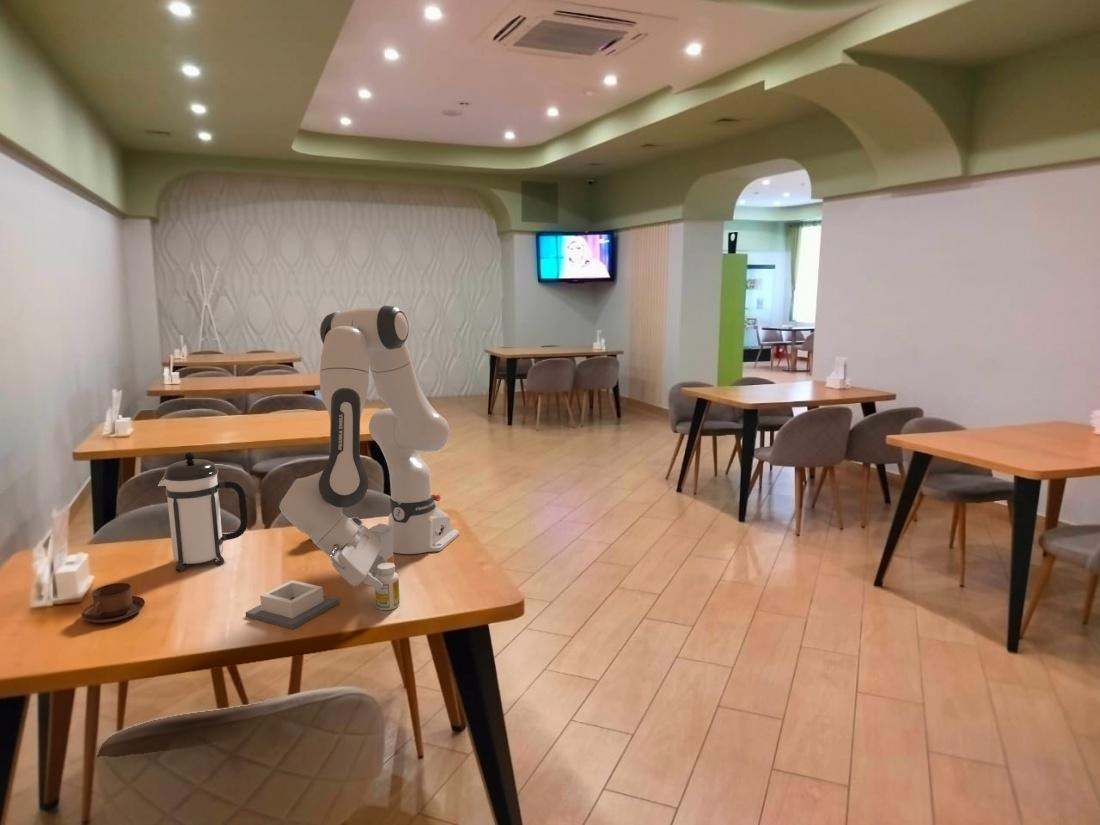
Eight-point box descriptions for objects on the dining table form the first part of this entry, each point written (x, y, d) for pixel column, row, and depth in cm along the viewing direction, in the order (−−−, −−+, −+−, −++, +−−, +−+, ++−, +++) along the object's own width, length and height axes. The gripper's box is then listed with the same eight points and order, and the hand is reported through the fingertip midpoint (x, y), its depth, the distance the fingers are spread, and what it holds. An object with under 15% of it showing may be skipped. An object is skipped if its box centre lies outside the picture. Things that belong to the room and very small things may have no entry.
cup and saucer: (137, 623, 155) (134, 597, 154) (74, 631, 152) (71, 604, 150) (151, 600, 166) (148, 576, 165) (93, 607, 163) (89, 582, 162)
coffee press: (201, 576, 180) (191, 461, 175) (154, 568, 185) (142, 456, 180) (251, 552, 196) (243, 446, 191) (207, 545, 201) (197, 442, 196)
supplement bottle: (394, 598, 167) (393, 559, 165) (403, 607, 162) (401, 566, 161) (372, 604, 164) (370, 564, 162) (380, 613, 159) (378, 572, 158)
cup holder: (293, 592, 170) (292, 574, 169) (338, 603, 164) (337, 585, 163) (245, 616, 158) (244, 597, 157) (292, 629, 152) (291, 609, 151)
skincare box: (381, 577, 179) (379, 532, 177) (367, 575, 180) (364, 530, 178) (394, 568, 184) (392, 524, 182) (380, 566, 186) (378, 522, 184)
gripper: (337, 545, 149) (386, 588, 151) (359, 514, 169) (402, 553, 171) (317, 565, 150) (366, 608, 152) (341, 532, 170) (384, 570, 172)
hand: (385, 578), depth 162 cm, fingers open, 8 cm apart
